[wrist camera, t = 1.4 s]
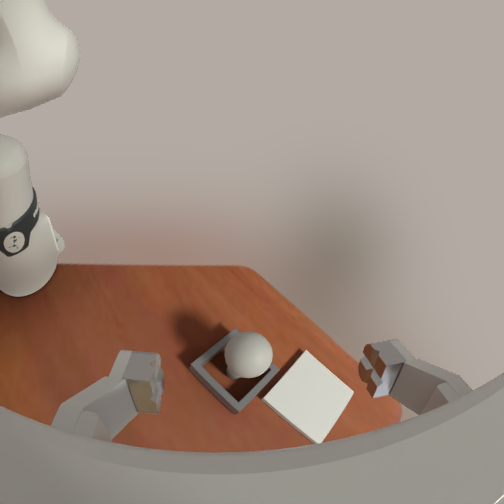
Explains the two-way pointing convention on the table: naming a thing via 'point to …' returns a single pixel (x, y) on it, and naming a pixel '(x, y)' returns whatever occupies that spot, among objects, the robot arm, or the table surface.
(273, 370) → the frame
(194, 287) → the table surface
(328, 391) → the mat
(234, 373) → the lightbulb
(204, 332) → the table surface
